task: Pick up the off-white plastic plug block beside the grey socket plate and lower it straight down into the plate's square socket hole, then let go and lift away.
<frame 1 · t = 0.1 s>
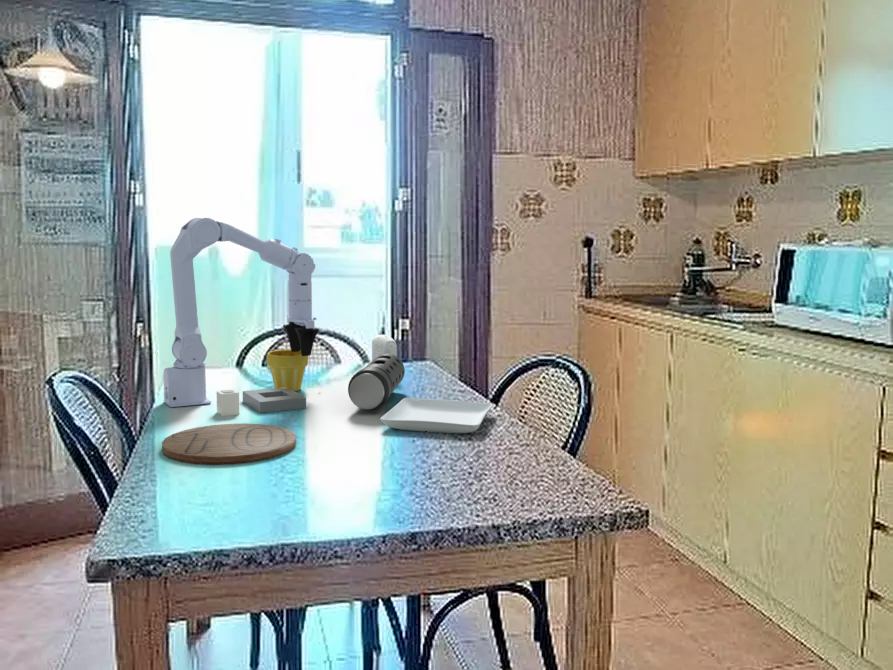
hand: (300, 353, 210), 10 cm above the table, fingers open, 7 cm apart
plant pot: (288, 390, 215), on the table
socket plate: (274, 404, 197), on the table
trivet: (230, 449, 159), on the table
salad plate: (438, 425, 180), on the table
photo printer: (384, 379, 232), on the table
muzzle brake: (377, 404, 200), on the table
plug block: (228, 413, 187), on the table
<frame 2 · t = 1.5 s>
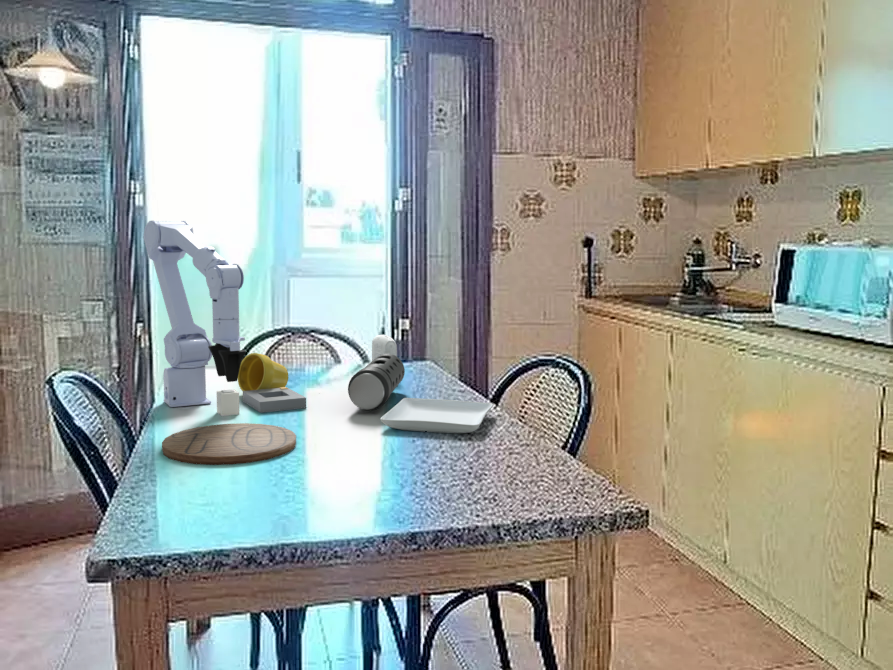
hand: (227, 378, 186), 8 cm above the table, fingers open, 7 cm apart
plant pot: (280, 378, 213), point 3 cm above the table
everything else where it was.
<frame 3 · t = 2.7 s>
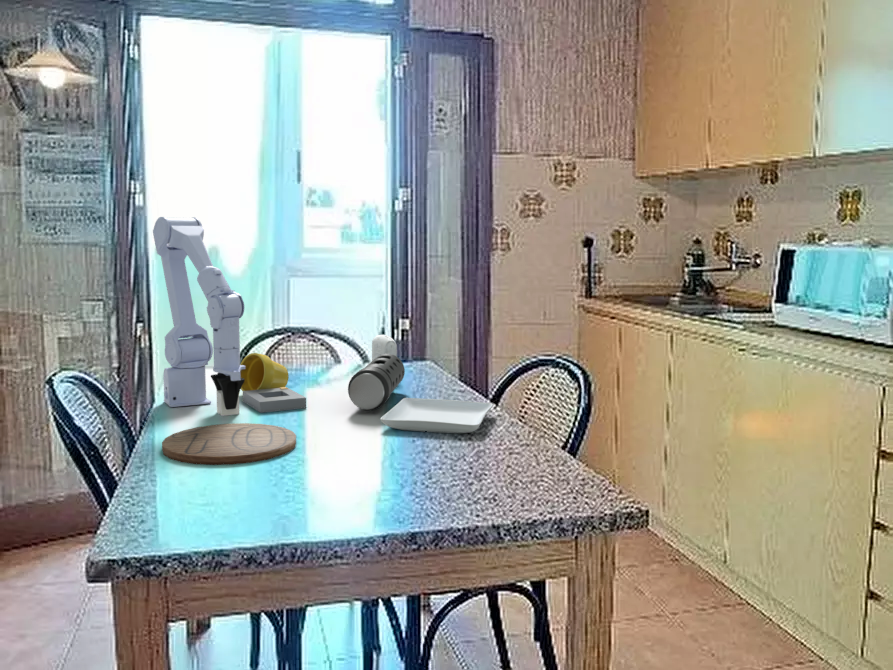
hand: (228, 407, 187), 1 cm above the table, fingers closed on plug block, 4 cm apart
plug block: (228, 413, 187), on the table, touching gripper
everything else where it was.
when the fingers open (3 cm above the table, at t = 6.2 s): plug block drops 1 cm, resting in socket plate.
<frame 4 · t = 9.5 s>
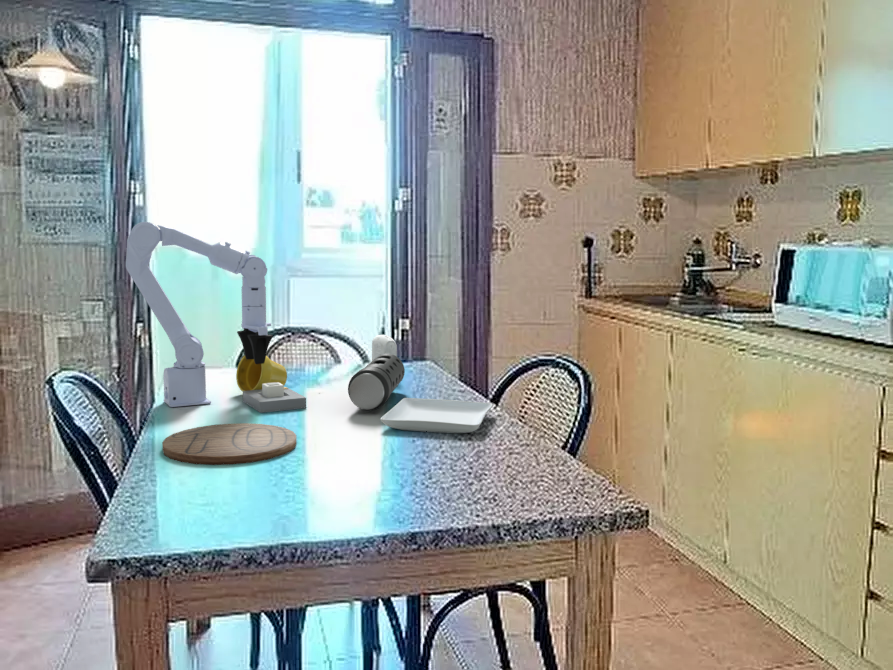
hand: (255, 361, 201), 9 cm above the table, fingers open, 7 cm apart
plant pot: (279, 378, 213), point 3 cm above the table, touching gripper
plug block: (273, 405, 196), resting in socket plate
everything else where it was.
at the end: plug block 0.2 cm off-centre on the socket plate, point 0.0 cm above the socket plate's base; plug block tilted 0°; the gripper is holding nothing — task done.
